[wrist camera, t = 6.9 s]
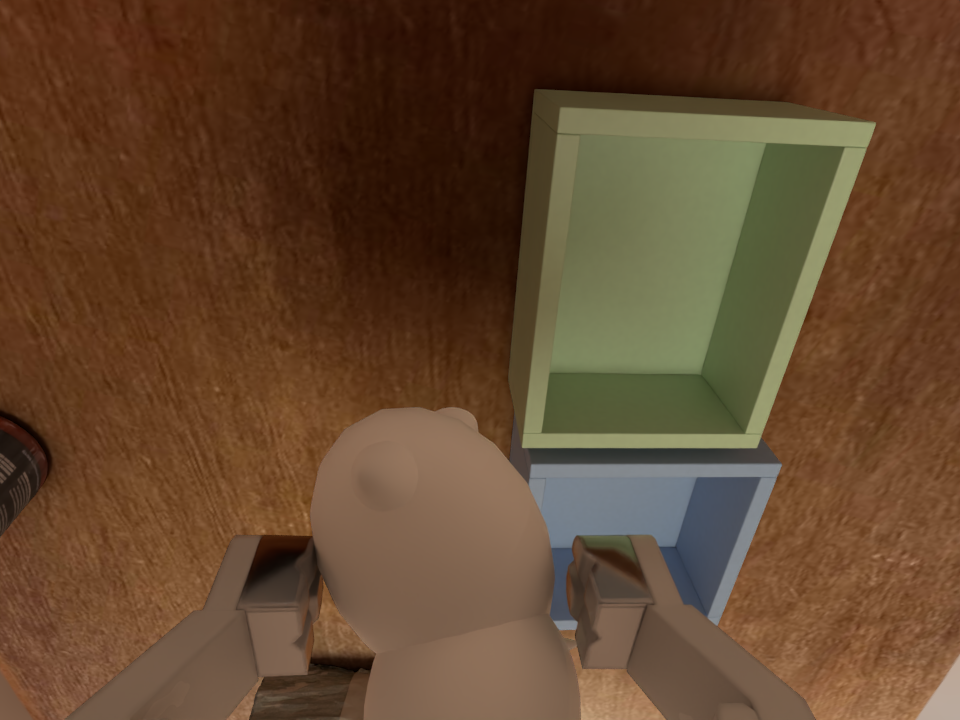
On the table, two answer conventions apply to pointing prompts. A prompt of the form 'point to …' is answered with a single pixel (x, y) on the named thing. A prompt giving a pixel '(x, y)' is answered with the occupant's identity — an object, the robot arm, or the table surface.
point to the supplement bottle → (18, 470)
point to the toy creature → (442, 571)
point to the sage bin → (669, 263)
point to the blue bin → (653, 509)
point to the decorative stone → (313, 695)
